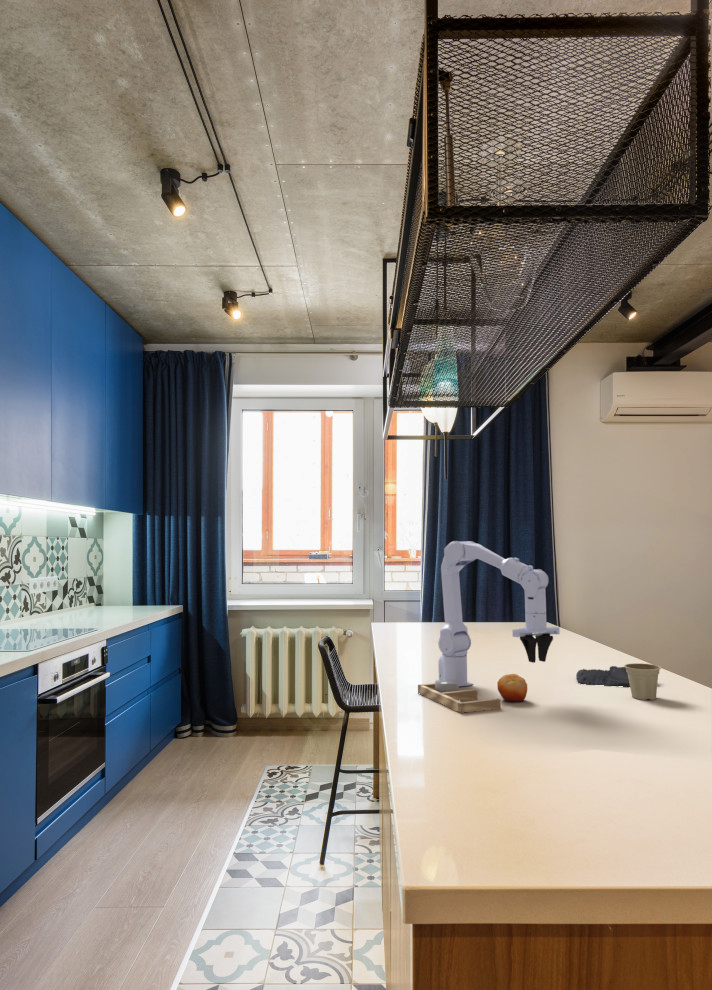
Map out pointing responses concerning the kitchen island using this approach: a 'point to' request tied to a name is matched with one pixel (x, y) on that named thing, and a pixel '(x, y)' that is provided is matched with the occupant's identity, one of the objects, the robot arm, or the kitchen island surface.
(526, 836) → the kitchen island surface
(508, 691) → the fruit
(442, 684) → the grey round dome
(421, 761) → the kitchen island surface
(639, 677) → the flower pot
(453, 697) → the wooden tray
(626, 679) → the grey elongated lump
